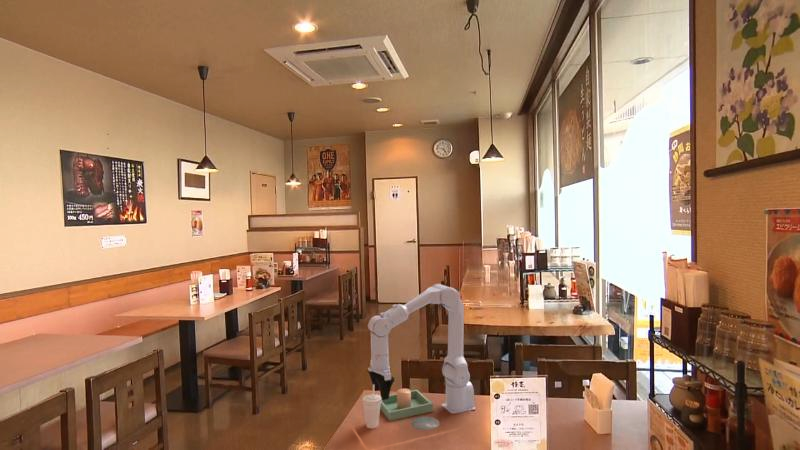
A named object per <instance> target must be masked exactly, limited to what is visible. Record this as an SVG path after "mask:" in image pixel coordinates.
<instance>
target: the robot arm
mask: <svg viewBox="0 0 800 450" xmlns="http://www.w3.org/2000/svg"><path fill="white" fill-rule="evenodd" d="M428 304H433V305H434V304H435V305H442V307H444V308H445V310H446V311H448V321H447V324H448V325H447V329H448V330H447V355H446V356H445V357H444V362H443V365H442V368H441V372H442V376H443V377H444V380H445V403H442V404H441V407H443V408H444V409H446V410H447V411H448V412H449V413H450V414H453V415H454V414H457V413H462V412H466V411H475V410H476V407H475V390H474V386H473V384H472V382H471V381H470V379H471V378H470V377H471V375H470V372H469V368H468V365H469V364H468V363H467V361H466V358H465V357H464V345H465V344H464V340H465V338H464V335H465V334H464V333H465V329H464V328H465V325H464V324H465V305H464V303H463V301H462V298H461V295H460V292H459V291H458V290H456V289H455V288H454V287H451V286H447V285H444V284H441V283H436V284H433V285H432V286H429V287H427V289H426V290H424V291H423V292H421V293H420V294H418V295H417V296H415V297H413V298H412V299H411V300H409V301H408V302H406V303H405V304H400V303H398V304H396V303H395V304H392V305H391V308H389V309H388V310H386V311H384V312H383V311H382V312H380V313H379V314H380V315H374V316H372V317H371V318H370V320H369V321H368V324H367V328H368V330H369V331H370V364H369V365H370V366H369V367H367V371H366V372H367V373H368V375H369V378H370V379H371V380H370V381H371V385H372V386H373V384H375V392H377V391H379V392H380V394H379V395H380V396H381V398H382V400H386V399H388V398H389V395H391V394H390V393H391V389H392V386H393V383H394V382H395V377H394V376H392V373H391V370H390V369H391V366H390V361H389V360H390V358H389V357H390V356H389V352H390V351H389V334H390V332H391V330H392V329H393V328H395V327H397V326H398V325H401V324H402V323H403V322H405V321H406V320H408V319H409V315H410V314H412V313H413V312H416V311H417V310H419V309H421V308H423V307H425V306H427V305H428Z"/></svg>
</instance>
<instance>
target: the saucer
mask: <svg viewBox="0 0 800 450" xmlns="http://www.w3.org/2000/svg"><path fill="white" fill-rule="evenodd" d="M411 426H413V428H414V429H417V430H421V431H430V430H434V429H437V428H438V427H439V426H440V421H439V420H438V419H437V418H435V417H432V416H419V417H416V418H414V419H412V421H411Z"/></svg>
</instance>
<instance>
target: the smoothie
mask: <svg viewBox="0 0 800 450" xmlns="http://www.w3.org/2000/svg"><path fill="white" fill-rule="evenodd" d="M375 392H376V391H375V384H373V385H372V393H369V394H365V395H364V396H362V397H361V398H362V400H361V401H362V403H363V409H364V410H363V411H364V416H365V417H364V418H365V426H366V428H367V429H376V428H378V427H379V421H380V413H381V410H380V405H381V402H382V398H381V394H377V393H375Z"/></svg>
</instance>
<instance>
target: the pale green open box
mask: <svg viewBox="0 0 800 450" xmlns="http://www.w3.org/2000/svg"><path fill="white" fill-rule="evenodd" d="M410 391H411V407H409V408H404V409H399V410H398V408H397V393H394V394H393V393H392V394H389V398H388V399H386V400H382V402H381V405H380V412H382V413H383V415H384V416H385V417H386V419H388V421H389V422H392V421H395V420H396V421H397V420H400V419H405V418H409V417H413V416H418V415H424V414H428V413H432V412H434V404H433V402H432V401H431V400H430V399H428V397H426V396H425V395H424V394H423V393H421V392H420V391H419V390H418V389H414V390H413V389H412V390H410Z"/></svg>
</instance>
